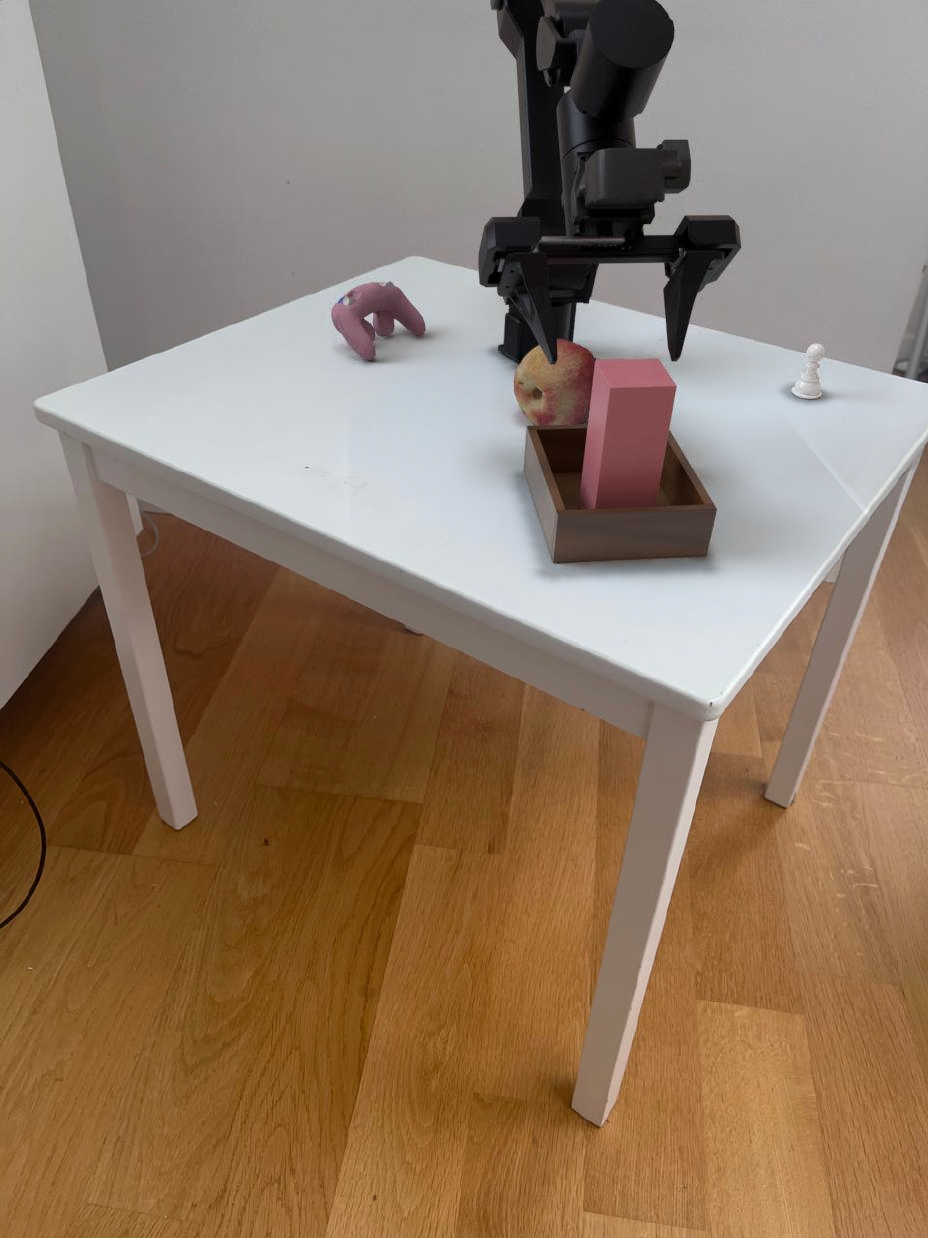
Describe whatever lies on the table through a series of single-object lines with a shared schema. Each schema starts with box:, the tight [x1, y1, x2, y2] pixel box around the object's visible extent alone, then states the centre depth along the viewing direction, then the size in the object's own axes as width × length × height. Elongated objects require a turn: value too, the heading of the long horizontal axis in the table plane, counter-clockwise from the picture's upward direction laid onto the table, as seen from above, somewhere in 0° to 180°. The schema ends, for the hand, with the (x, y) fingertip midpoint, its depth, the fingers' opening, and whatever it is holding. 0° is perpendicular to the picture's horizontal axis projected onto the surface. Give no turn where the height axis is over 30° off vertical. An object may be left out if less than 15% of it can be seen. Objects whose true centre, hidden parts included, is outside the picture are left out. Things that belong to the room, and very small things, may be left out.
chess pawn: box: [791, 342, 826, 400], centre depth 91 cm, size 3×3×5 cm
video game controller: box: [330, 281, 427, 361], centre depth 98 cm, size 10×5×7 cm, turn 144°
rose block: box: [579, 357, 678, 509], centre depth 68 cm, size 5×5×12 cm
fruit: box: [513, 339, 597, 426], centre depth 83 cm, size 8×8×8 cm
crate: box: [522, 423, 718, 564], centre depth 72 cm, size 13×11×5 cm
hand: (615, 361), depth 69 cm, fingers open, 9 cm apart
